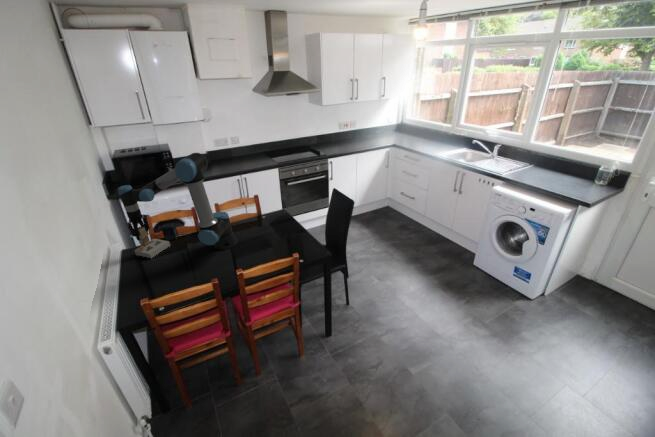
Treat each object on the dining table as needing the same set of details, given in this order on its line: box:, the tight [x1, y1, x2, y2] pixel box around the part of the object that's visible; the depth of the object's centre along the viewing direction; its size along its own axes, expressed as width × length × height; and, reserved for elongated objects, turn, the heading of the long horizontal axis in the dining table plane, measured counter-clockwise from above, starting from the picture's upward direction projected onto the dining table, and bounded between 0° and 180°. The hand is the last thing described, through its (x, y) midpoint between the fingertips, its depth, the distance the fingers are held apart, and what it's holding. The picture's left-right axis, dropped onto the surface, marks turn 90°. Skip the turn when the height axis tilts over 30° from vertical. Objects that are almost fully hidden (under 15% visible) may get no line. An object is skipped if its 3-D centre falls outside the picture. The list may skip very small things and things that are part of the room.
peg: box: [138, 226, 151, 247], centre depth 207 cm, size 4×4×12 cm
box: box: [160, 222, 180, 241], centre depth 227 cm, size 8×6×11 cm
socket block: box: [133, 238, 171, 260], centre depth 215 cm, size 14×16×4 cm
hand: (144, 241), depth 209 cm, fingers closed on peg, 4 cm apart
